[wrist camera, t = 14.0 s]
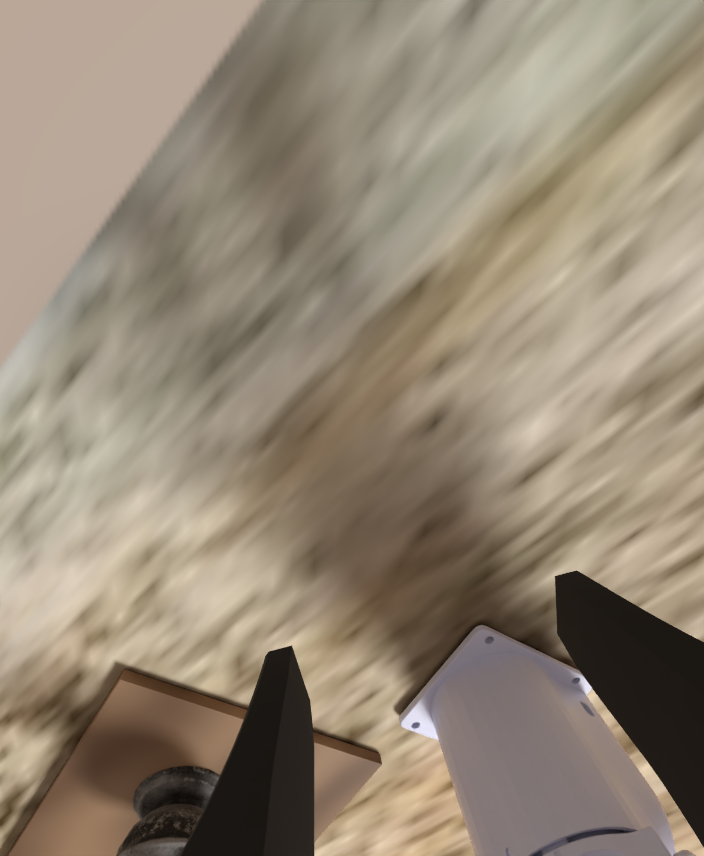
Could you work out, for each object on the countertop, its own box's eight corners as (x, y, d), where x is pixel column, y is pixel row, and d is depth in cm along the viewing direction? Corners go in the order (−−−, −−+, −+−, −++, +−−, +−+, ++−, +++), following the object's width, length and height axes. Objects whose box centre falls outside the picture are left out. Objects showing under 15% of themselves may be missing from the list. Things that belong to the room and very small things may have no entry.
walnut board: (379, 754, 27) (381, 764, 26) (249, 905, 30) (248, 918, 29) (124, 669, 22) (120, 679, 21) (4, 859, 25) (-3, 873, 25)
